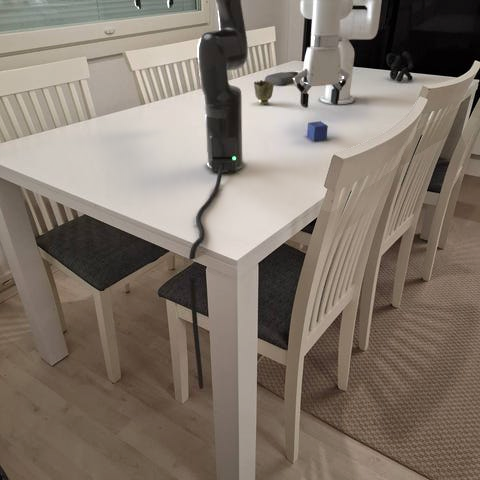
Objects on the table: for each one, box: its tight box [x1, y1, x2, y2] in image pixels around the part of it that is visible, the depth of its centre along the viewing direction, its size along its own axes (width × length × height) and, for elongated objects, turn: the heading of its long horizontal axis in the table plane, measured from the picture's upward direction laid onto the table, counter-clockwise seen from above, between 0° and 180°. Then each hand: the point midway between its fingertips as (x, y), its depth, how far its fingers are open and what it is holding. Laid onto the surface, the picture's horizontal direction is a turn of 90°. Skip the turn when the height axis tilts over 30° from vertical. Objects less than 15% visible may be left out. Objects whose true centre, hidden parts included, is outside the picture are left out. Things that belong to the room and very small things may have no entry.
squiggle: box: [385, 51, 414, 83], centre depth 198 cm, size 11×10×15 cm
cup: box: [253, 79, 275, 106], centre depth 169 cm, size 8×7×8 cm
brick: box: [306, 120, 329, 142], centre depth 136 cm, size 5×4×4 cm
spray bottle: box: [264, 70, 303, 86], centre depth 204 cm, size 3×11×25 cm
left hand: (154, 8), depth 126 cm, fingers open, 8 cm apart
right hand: (319, 105), depth 131 cm, fingers open, 9 cm apart
